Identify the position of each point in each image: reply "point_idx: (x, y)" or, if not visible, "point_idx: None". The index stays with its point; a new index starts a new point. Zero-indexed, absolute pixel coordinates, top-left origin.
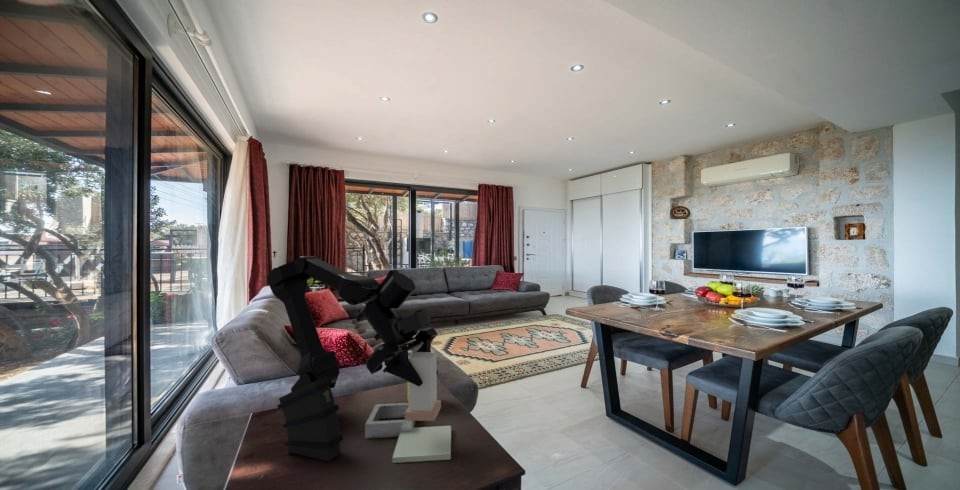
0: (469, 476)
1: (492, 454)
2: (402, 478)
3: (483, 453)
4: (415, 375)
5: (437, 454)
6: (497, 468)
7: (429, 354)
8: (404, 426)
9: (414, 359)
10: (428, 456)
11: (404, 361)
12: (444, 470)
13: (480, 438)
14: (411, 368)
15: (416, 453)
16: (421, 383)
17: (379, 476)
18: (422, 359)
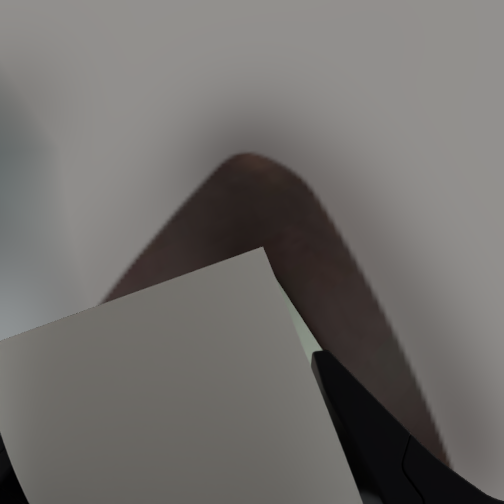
0: (304, 204)
1: (207, 196)
2: (384, 334)
3: (211, 215)
4: (372, 395)
5: (288, 302)
6: (251, 168)
7: (63, 405)
8: None
9: (357, 502)
10: (303, 321)
11: (488, 502)
12: (314, 264)
13: (151, 252)
14: (402, 447)
15: (311, 357)
16: (329, 351)
17: (401, 386)
18: (316, 390)
